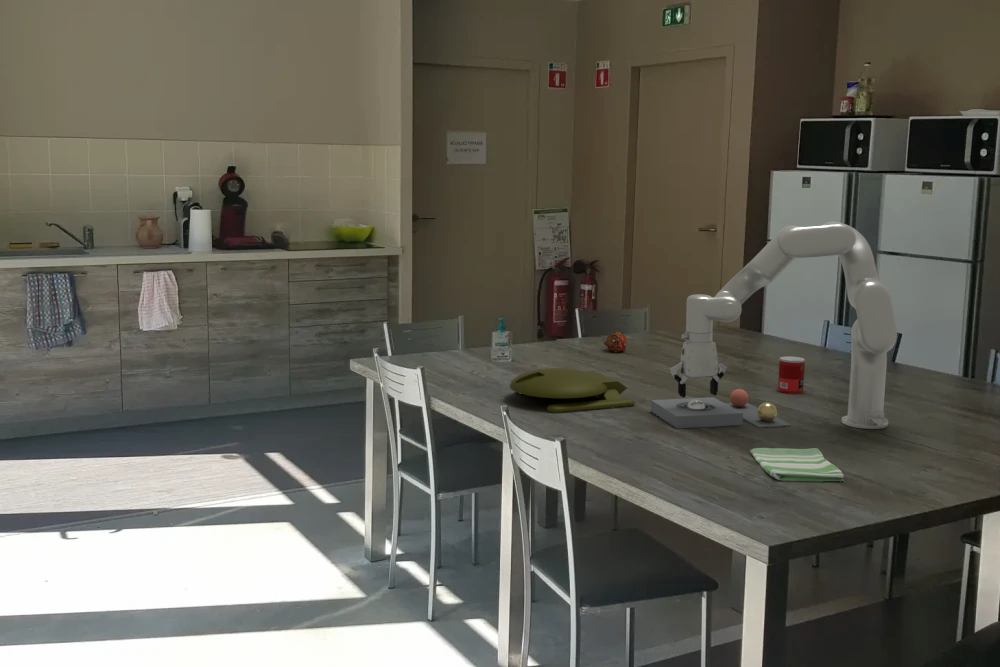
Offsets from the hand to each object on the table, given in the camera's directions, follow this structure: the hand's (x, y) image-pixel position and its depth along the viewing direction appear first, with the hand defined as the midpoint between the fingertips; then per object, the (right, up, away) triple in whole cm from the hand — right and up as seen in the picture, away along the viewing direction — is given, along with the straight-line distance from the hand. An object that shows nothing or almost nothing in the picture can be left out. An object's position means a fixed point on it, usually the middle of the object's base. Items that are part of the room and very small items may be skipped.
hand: (697, 395), depth 296 cm
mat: (+17, -6, +5) cm, 19 cm away
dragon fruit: (-12, +11, +106) cm, 107 cm away
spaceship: (-37, -3, +23) cm, 44 cm away
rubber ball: (+15, -2, +13) cm, 20 cm away
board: (-1, -7, +1) cm, 7 cm away
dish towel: (+15, -16, -46) cm, 51 cm away
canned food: (+37, -1, +37) cm, 53 cm away
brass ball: (+19, -5, -4) cm, 20 cm away
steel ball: (0, -4, +1) cm, 4 cm away
